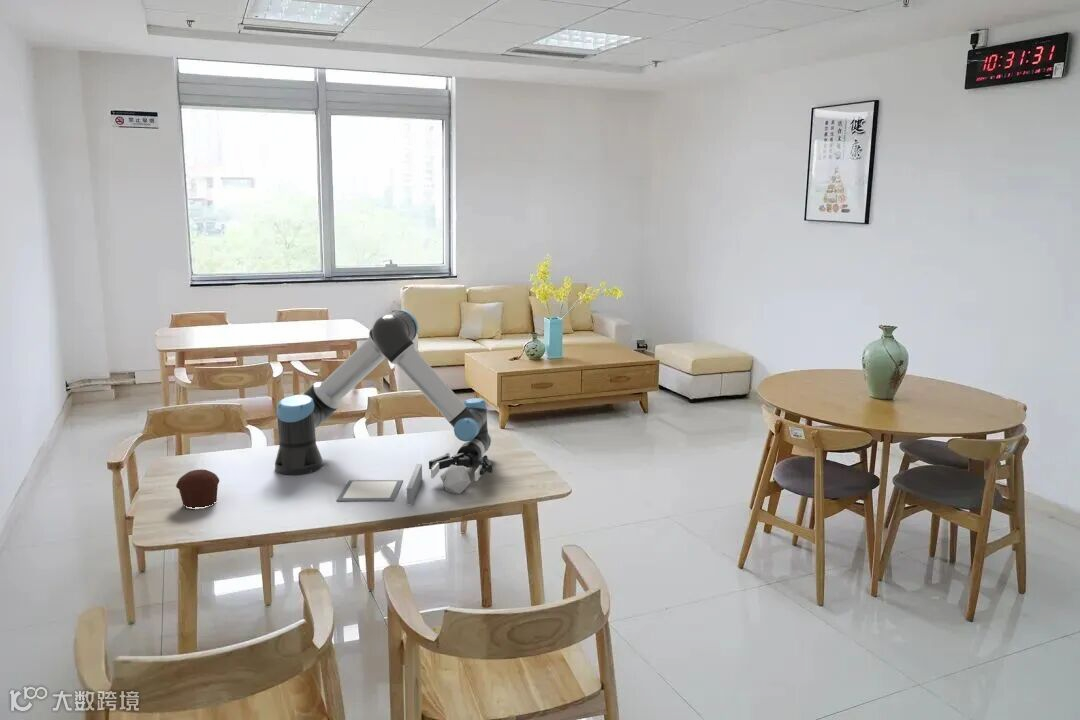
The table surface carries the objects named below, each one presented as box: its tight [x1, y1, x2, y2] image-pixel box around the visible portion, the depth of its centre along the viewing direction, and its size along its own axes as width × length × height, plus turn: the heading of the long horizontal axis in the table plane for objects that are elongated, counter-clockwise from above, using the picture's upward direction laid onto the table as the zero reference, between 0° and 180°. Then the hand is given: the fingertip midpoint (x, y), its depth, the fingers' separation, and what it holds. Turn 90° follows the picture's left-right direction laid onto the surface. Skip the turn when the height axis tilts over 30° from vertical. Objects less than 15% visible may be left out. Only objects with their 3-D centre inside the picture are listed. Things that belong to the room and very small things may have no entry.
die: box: [439, 465, 472, 495], centre depth 243 cm, size 8×9×10 cm
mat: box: [335, 479, 404, 503], centre depth 243 cm, size 17×17×1 cm
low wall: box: [406, 463, 423, 506], centre depth 243 cm, size 2×22×5 cm, turn 1°
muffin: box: [175, 469, 220, 508], centre depth 232 cm, size 12×11×10 cm
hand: (453, 475), depth 240 cm, fingers open, 13 cm apart
